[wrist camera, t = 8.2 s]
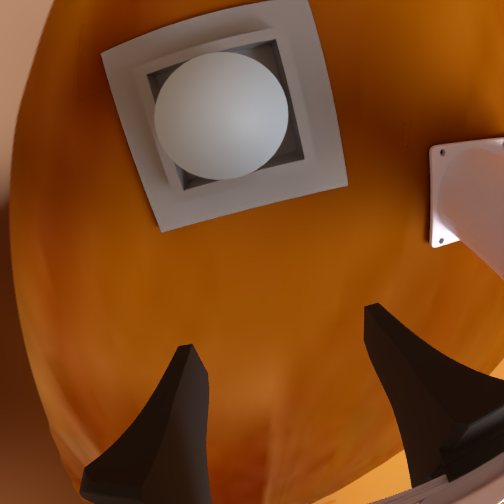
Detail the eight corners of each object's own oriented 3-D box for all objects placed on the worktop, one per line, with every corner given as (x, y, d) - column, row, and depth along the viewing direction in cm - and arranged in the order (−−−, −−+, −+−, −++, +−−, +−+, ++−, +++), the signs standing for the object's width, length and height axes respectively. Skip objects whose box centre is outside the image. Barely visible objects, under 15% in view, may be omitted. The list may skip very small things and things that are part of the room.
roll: (260, 63, 14) (277, 42, 8) (272, 139, 17) (296, 167, 11) (178, 78, 15) (142, 70, 9) (194, 153, 17) (170, 191, 11)
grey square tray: (304, -2, 13) (315, -14, 11) (344, 182, 19) (359, 196, 17) (104, 54, 14) (86, 50, 12) (163, 228, 20) (155, 247, 17)
